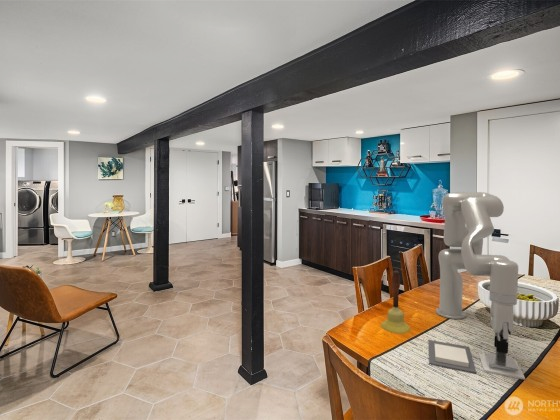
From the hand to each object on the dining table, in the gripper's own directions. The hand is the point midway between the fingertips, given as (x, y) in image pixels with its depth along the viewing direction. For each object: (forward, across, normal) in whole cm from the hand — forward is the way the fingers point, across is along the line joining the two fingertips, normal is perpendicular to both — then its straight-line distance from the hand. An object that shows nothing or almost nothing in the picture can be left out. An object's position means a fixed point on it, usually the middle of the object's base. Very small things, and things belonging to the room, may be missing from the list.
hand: (500, 349), depth 106 cm
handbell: (+6, -18, -35) cm, 40 cm away
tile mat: (+6, -1, -15) cm, 16 cm away
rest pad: (+6, 0, 0) cm, 6 cm away
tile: (+5, +1, -15) cm, 16 cm away
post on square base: (+4, 0, 0) cm, 4 cm away
